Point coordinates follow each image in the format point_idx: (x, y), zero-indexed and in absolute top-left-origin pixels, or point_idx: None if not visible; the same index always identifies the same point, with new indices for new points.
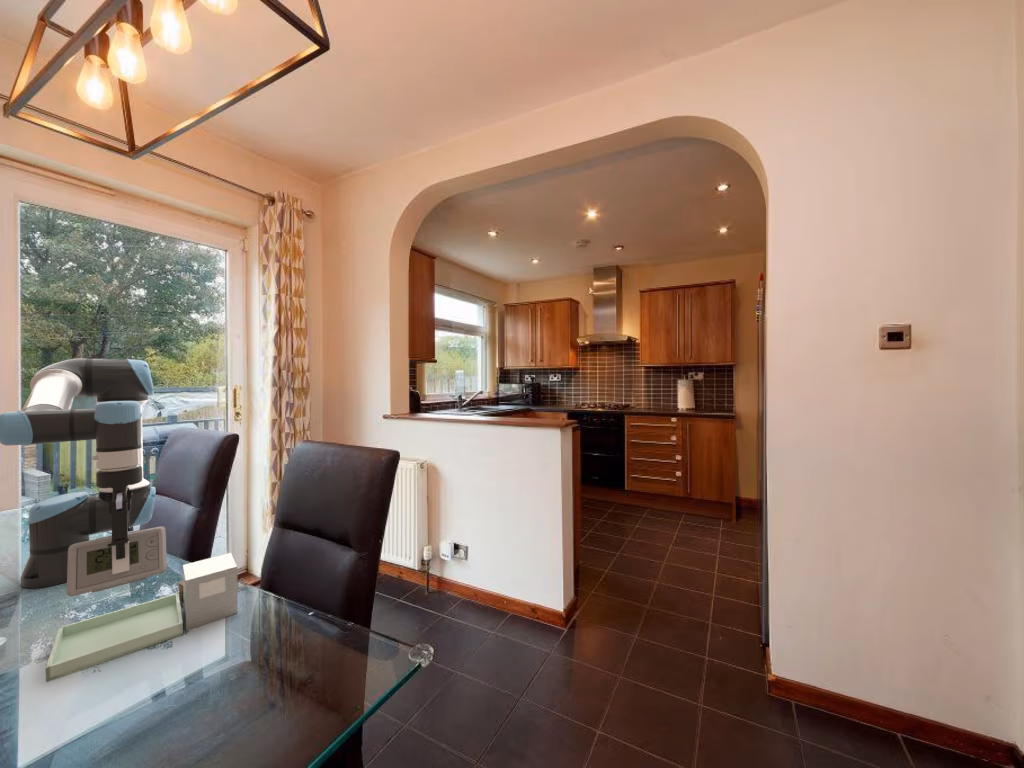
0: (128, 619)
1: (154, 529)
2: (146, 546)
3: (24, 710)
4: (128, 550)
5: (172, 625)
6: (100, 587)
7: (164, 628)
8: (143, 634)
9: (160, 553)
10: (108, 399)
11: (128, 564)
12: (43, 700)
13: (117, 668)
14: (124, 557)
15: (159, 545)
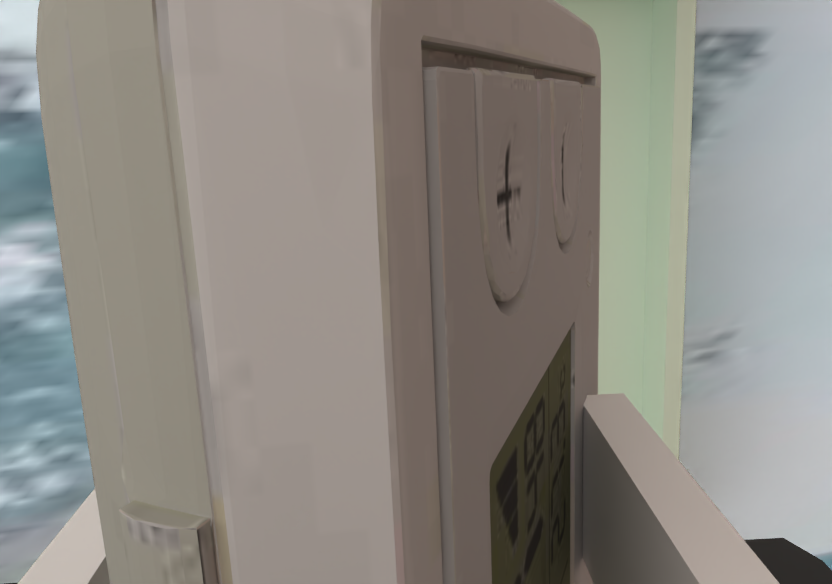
0: None
1: (374, 151)
2: (533, 274)
3: (817, 542)
4: (753, 559)
5: (686, 21)
6: None
7: (687, 67)
8: (671, 177)
9: (566, 43)
10: None
11: (653, 435)
12: (797, 498)
13: (768, 269)
14: (800, 551)
15: (533, 45)
